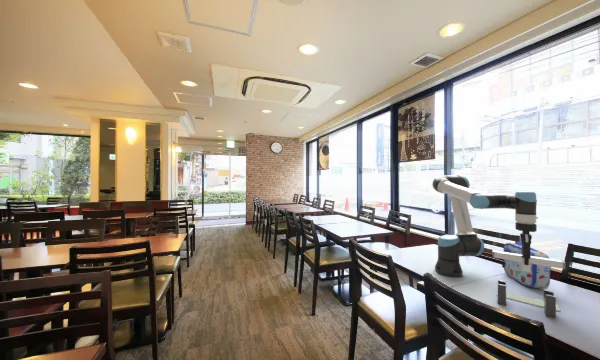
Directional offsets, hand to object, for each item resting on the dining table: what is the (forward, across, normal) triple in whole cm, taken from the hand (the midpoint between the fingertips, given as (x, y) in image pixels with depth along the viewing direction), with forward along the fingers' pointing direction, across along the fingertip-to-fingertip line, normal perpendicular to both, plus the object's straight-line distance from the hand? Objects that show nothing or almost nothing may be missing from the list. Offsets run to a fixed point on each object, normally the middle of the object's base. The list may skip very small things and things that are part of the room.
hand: (525, 269), depth 115 cm
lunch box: (+15, +29, -1) cm, 33 cm away
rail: (-4, 0, 0) cm, 4 cm away
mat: (+15, 0, 0) cm, 15 cm away
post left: (+15, -10, +9) cm, 20 cm away
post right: (+15, -10, -7) cm, 19 cm away
